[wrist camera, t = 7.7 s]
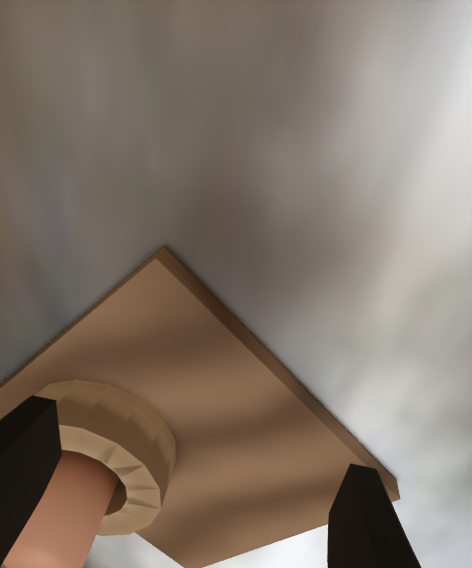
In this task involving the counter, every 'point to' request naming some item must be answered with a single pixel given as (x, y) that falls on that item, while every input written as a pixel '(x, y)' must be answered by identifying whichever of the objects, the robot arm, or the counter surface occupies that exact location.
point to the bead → (118, 447)
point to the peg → (66, 515)
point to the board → (206, 414)
